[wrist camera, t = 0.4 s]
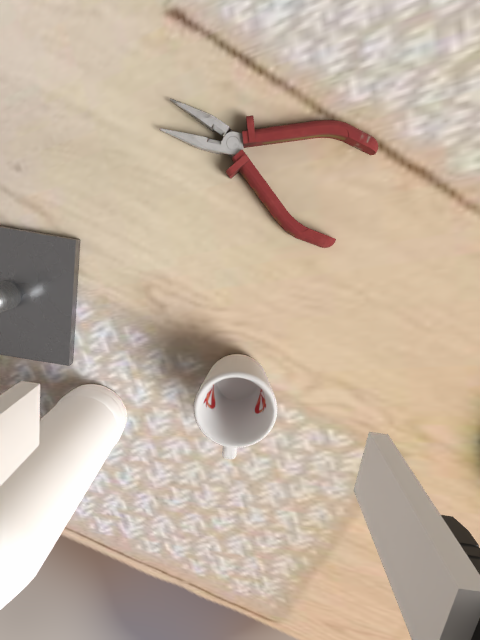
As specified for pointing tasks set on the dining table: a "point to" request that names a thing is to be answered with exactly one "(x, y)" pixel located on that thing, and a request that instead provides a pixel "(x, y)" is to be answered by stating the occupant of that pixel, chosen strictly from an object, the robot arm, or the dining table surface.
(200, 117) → the pliers
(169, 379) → the dining table surface
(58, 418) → the bottle
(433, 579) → the robot arm
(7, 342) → the piston jig
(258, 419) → the cup
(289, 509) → the dining table surface
